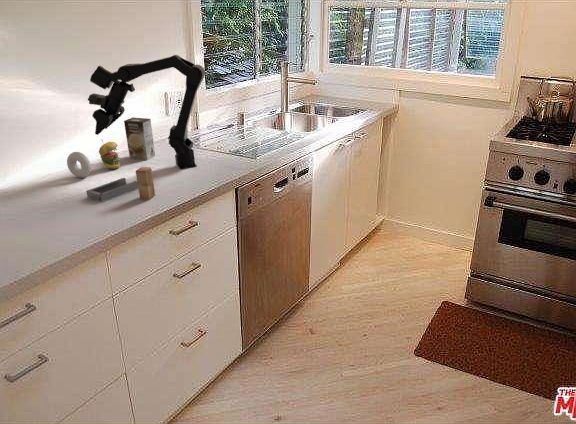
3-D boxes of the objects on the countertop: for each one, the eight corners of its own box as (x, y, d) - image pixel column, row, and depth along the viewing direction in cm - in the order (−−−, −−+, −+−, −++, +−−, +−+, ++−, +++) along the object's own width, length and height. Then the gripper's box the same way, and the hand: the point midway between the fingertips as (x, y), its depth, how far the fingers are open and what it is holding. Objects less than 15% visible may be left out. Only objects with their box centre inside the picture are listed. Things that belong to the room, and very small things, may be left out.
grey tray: (124, 184, 179) (123, 177, 178) (138, 188, 175) (137, 181, 174) (87, 197, 168) (86, 190, 167) (102, 202, 164) (100, 195, 163)
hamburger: (118, 170, 194) (113, 140, 189) (99, 171, 193) (94, 141, 188) (123, 164, 201) (118, 135, 196) (105, 165, 200) (99, 136, 195)
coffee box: (128, 158, 208) (122, 120, 202) (137, 154, 214) (132, 117, 207) (147, 160, 205) (141, 121, 199) (156, 155, 211) (151, 118, 204)
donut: (95, 177, 188) (90, 151, 184) (89, 180, 185) (83, 154, 181) (74, 174, 191) (69, 149, 187) (67, 177, 188) (62, 152, 184)
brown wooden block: (145, 195, 169) (141, 166, 165) (155, 195, 168) (151, 167, 164) (140, 199, 165) (135, 170, 161) (149, 199, 164) (145, 171, 160)
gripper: (105, 80, 193) (90, 115, 198) (87, 89, 176) (71, 126, 181) (131, 95, 195) (116, 129, 200) (116, 105, 178) (99, 141, 183)
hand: (100, 131), depth 191 cm, fingers open, 9 cm apart
